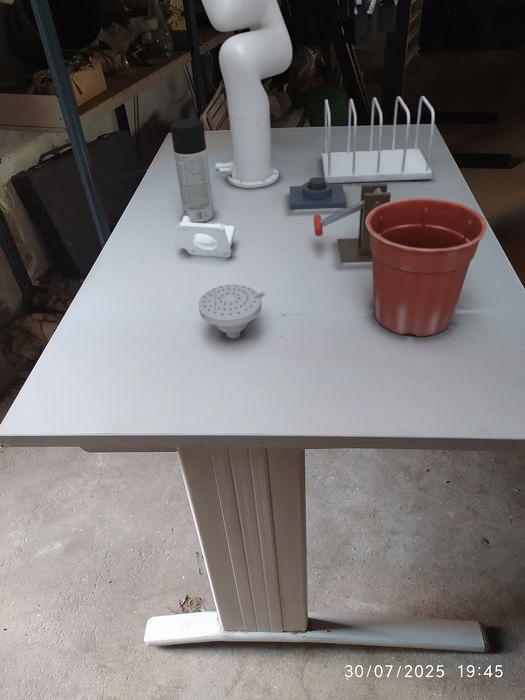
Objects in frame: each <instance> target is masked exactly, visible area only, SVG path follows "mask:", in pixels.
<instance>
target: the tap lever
mask: <svg viewBox="0 0 525 700" xmlns="http://www.w3.org/2000/svg"><path fill="white" fill-rule="evenodd" d="M368 193H381V190H380V187H379V188H377V189H375V190H372V191H370V192H368ZM363 204H364V200H363V201H361V200H360V201H359V202H358V201H357V202H356V203H354V204H352V205H350V206H348V207H346V208H342V209H341V210H339V211H337V212H335V213H333V214H331V215H328V216H326V217H324V218H322V216H321V215H320V214H315V215H314V216H313V229H314V236H316V237H322V236H323V234H324V231H323V228H324V227H326V226H328V225H330V224H333V223H335V222H337V221H339V220H342V219H345V218H346V217H348V216H351V215H352V214H354V213H357V212H360V210H361V209H363Z"/></svg>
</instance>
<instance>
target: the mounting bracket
mask: <svg viewBox="0 0 525 700" xmlns="http://www.w3.org/2000/svg"><path fill="white" fill-rule="evenodd" d="M236 231H237V230H236V226H235V225H225V224H223V223H220V222H217V223H207V222H203V223H191V220H190V218H189V217H188V216H184V215H183V217H182V220H181V221H180V222H179V223H178V224H177V228H176V235H175V243H174V244H175V247H177V248H179V249H184V250H186V251H187V253H188V254H190V255H191V256H199V257H201V256H202V257H213V258H214V257H215V258H226V259H227V258H230V257H231V256H232V254H233V253H232V252H233V251H232V248H231V246H232V244H233V242H234V238H235V233H236Z"/></svg>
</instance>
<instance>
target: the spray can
mask: <svg viewBox="0 0 525 700" xmlns="http://www.w3.org/2000/svg"><path fill="white" fill-rule="evenodd" d="M204 126H205V125H204V122H203V120H202V119H199V118H181V119H179V120H177V121H174V122H173V123H171V124H170V133H171V139H172V148H173V155H174V160H175V167H176V173H177V180H178V187H179V193H180V199H181V206H182V213H183V217H184V216H188V217H189V218H190V220H191V223H207V222H208V221H211V220H212V219H213V218H214V215H215V208H214V201H213V193H212V184H211V175H210V174H211V173H210V167H209V158H208V150H207V149H208V148H207V143H206V133H205V127H204Z"/></svg>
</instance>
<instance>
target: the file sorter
mask: <svg viewBox="0 0 525 700" xmlns="http://www.w3.org/2000/svg"><path fill="white" fill-rule="evenodd" d="M394 103H395V104H394V112H393V113H394V114H393V115H394V116H393V127H392V140H391V142H392V143H391V149H382V136H383V112H382V109H381V106H380V104H379V102H378V99H377V97H373V98H372V101H371V115H370V116H371V117H370V134H369V150H357V129H358V127H357V124H358V123H357V122H358V121H357V120H358V119H357V112H356V111H357V110H356V108H355V103H354V100H353V99H352V98H350V99H349V102H348V120H347V121H348V122H347V124H348V125H347V147H346V148H347V151H337V152H332V151H331V147H332V146H331V143H332V141H331V138H332V137H331V136H332V134H331V133H332V131H331V130H332V129H331V128H332V126H331V125H332V124H331V110H330V106H329V100H328V99H325V100H324V152H322V153H321V163H322V169H323V170H322V171H323V178H324V179H325V181H326V182H329V183H330V184H342V183H343V184H344V183H363V182H364V183H366V182H367V183H368V182H387V181H389V182H390V181H413V180H417V181H418V180H432V175H433V171H432V169H431V168H430V162H431V153H432V145H433V136H434V129H435V128H434V127H435V110H434V108H433V106H432V104H431V103H430V102H429V100H428V99H427V98H426V97H425V96H424V95H422V96H421V97H420V98H419V102H418V109H417V119H416V129H415V139H414V148H408V142H409V133H410V124H411V113H410V110H409V108H408V106H407V104H405V102H404V100H403V98H402V97H401V96H399V95H398V96H397V97H395V102H394ZM399 103H400V106H401V107H402V108H403V110H404V111H405V113H406V130H405V138H404V146H403V148H400V149H399V148H398V149H395V146H396V145H395V144H396V130H397V118H398V106H399ZM423 103H424V104H425V105H426V106H427V108H428V109H429V111H430V114H431V122H430V123H431V124H430V131H429V140H428V148H427V157H426V159H425V156H424V155H423V154H422V151H421V150H420V148H418V141H419V131H420V121H421V113H422V104H423ZM375 107H376V110H377V112H378V115H379V130H378V145H377V146H378V147H377V150H373V139H374V138H373V137H374V121H375V120H374V119H375ZM352 113H353V139H352V140H353V142H352V143H353V144H352V151H350V149H351V145H350V144H351V125H352V124H351V123H352ZM356 150H357V151H356Z"/></svg>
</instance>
